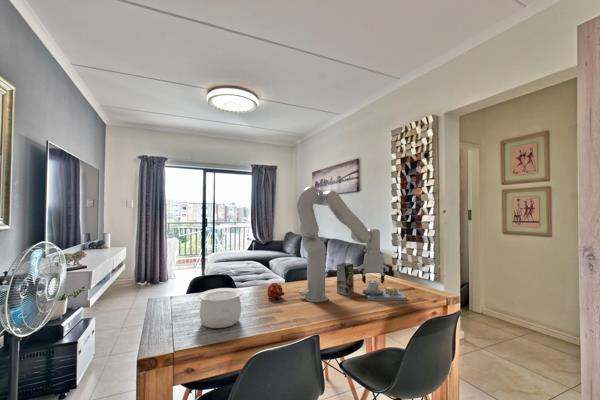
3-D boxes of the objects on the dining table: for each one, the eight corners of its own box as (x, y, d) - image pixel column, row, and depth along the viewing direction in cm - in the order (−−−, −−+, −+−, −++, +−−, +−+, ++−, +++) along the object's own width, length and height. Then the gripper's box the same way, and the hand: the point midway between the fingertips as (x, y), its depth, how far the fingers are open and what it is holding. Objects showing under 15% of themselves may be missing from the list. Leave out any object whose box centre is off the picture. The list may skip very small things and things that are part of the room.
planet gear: (364, 296, 149) (364, 284, 149) (361, 290, 159) (360, 279, 159) (385, 296, 148) (385, 284, 149) (380, 290, 159) (380, 279, 159)
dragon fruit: (273, 297, 158) (279, 307, 147) (261, 290, 155) (266, 299, 144) (282, 284, 159) (288, 293, 148) (271, 277, 156) (276, 285, 145)
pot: (196, 317, 124) (196, 289, 125) (235, 311, 131) (236, 285, 132) (201, 337, 104) (202, 304, 105) (247, 329, 111) (247, 298, 112)
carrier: (368, 300, 147) (368, 283, 147) (363, 292, 161) (362, 277, 161) (407, 300, 146) (406, 283, 147) (398, 292, 160) (398, 277, 161)
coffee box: (346, 295, 156) (346, 266, 156) (336, 293, 159) (336, 264, 160) (354, 291, 163) (353, 263, 163) (344, 289, 167) (344, 262, 167)
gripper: (358, 252, 151) (358, 284, 150) (390, 252, 151) (391, 284, 150) (356, 250, 159) (356, 281, 158) (387, 250, 158) (387, 281, 157)
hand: (373, 282), depth 154 cm, fingers open, 9 cm apart
